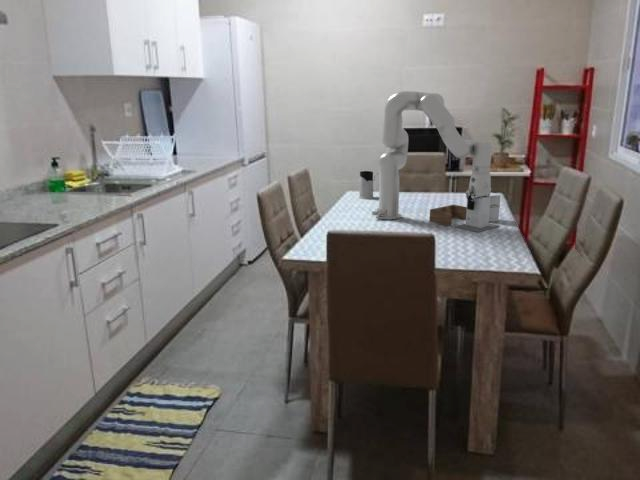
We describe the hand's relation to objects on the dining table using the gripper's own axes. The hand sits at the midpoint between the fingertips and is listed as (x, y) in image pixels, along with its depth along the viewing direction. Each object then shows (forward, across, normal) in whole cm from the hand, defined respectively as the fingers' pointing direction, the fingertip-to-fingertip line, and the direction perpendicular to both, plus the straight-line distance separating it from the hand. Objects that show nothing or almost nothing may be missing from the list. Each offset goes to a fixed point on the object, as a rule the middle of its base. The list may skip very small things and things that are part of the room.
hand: (477, 208), depth 235 cm
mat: (+9, 0, -1) cm, 9 cm away
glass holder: (+11, +13, +83) cm, 85 cm away
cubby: (+9, 0, +13) cm, 16 cm away
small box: (+8, 0, 0) cm, 8 cm away
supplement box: (+9, +15, +4) cm, 18 cm away
